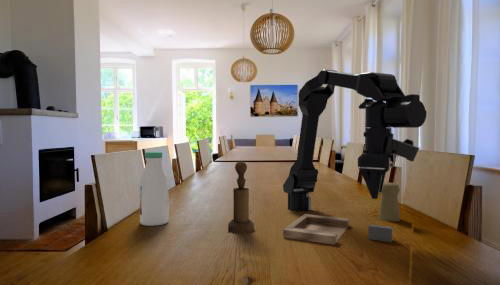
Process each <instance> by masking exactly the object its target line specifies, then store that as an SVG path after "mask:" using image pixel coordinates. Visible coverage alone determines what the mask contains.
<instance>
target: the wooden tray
mask: <svg viewBox="0 0 500 285" xmlns="http://www.w3.org/2000/svg"><path fill="white" fill-rule="evenodd" d="M349 220H350V218H345V217H338V216H337V217H335V216H327V215H321V214H319V215H318V214H309V213H304V214H303V215H302V216H300V217H299V218H296V220H294V221H293V222H291V223H290V224H289V225H287V226H286V227H284V228H283V230H282V233H283V234H282V237H283V238H286V239H291V240H298V241H299V240H300V241H306V242H313V243H318V244H326V245H331V246H332V245H333V246H335V245H336V244H337V243H338V242H339V240H341V238H342V236H343V234H344V233H345V232H346V230H348V227H349V226H350V221H349Z"/></svg>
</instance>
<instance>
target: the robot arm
mask: <svg viewBox="0 0 500 285" xmlns="http://www.w3.org/2000/svg"><path fill="white" fill-rule="evenodd" d="M324 85H326V86H324ZM336 87H338V88H339V87H340V88H345V89H351V90H353V91H355V92H356V93H357V94H359V95H360V96H362V97H365V99H364V100H363V102H362V103H360V104H359V106H358V109H359V110H364V111H365V113H364V114H365V116H364V120H365V121H364V123H365V124H364V126H365V127H364V131H363V137H364V150H362V151H363V152H362V154H361V155H359V157H357V167H358V169H359V171H360V174H361V176H362V177H363V181H364V182H365V185H366V187H367V190H368V192H369V195H370V196H371V199H373V200H377V199H378V198H379V193H381V191H382V187H383V183H385V178H386V174H387V173H388V172H389V171H390V168H391V167H392V166H393V165H394V162H395V155H396V156H399V157H401V158H404V159H406V161H409V162H414V161H415V159H416V157H417V154H418V152H419V150H420V147H418V146H415V145H414V140H411V139H409V138H405V140H403V141H402V140H398V139H395V138H394V137H395V136H394V133H393V132H392V128H395V129H396V128H397V129H398V128H399V129H401V128H405V129H407V128H415V129H416V128H420V127H422V126H423V125H424V123H425V121H426V119H427V110H426V107H425V105H424V103H423V102H422V101H421V100H420V99H421V98H420V97H421V96H420V94H417V93H416V94H414V93H412V94H411V93H410V94H407V95H405V94H404V92H403V90H402V88H401V87H400V85H399V84H398V82H397V77H396V75H394V74H391V73H383V72H374V71H373V72H372V71H369V72H362V73H359V74H358V73H357V74H356V73H351V72H350V73H348V72H344V71H343V72H342V71H338V70H334V69H333V70H332V69H322V70H320V71H319V72H318V74H317V75H315V76H314V77H312V78H311V79H309V80H308V81H306V82H305V83H304V85H303V86H302V87H301V88H300V89H299V91H298V107H299V110H300V112H301V115H302V116H301V123H300V131H299V133H300V134H299V140H298V148H297V156H296V160H295V162H294V163H293V164H292V166H291V167H290V169H289V174H288V177H287V178H286V179H285V182H284V183H283V184H282V190H283V192H284V193H285V194H287V210H290V211H294V212H309V211H311V210H312V200H311V199H312V196H310V193H314V191H315V187H316V184H317V183H318V174H319V170H318V168H316V167H315V164H314V155H315V148H316V140H317V135H318V126H319V120H320V117H321V115H322V113H323V112H324V111H325V110H326V107H327V104H328V100H329V99H331V97H332V96H333V95H334V93H335V88H336Z"/></svg>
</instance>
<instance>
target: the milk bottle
mask: <svg viewBox="0 0 500 285" xmlns="http://www.w3.org/2000/svg"><path fill="white" fill-rule="evenodd" d="M144 157H145V161H146V163H145V166H144V169H143V172H142V174H141V176H140V180H139V223H140V224H141V225H142V226H146V227H152V226H153V227H155V226H160V225H161V226H162V225H165V224H167V223H168V222H169V218H170V217H169V180H168V176H167V174H166V171H165V169H164V167H163V164H162V161H163V151H146V152H145V154H144Z"/></svg>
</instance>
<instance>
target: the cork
mask: <svg viewBox="0 0 500 285" xmlns="http://www.w3.org/2000/svg"><path fill="white" fill-rule="evenodd" d="M380 193H381V194H380V195H381V198H380V199H381V200H380V205H379V213H378V219H379V220H380V221H386V222H400V221H401V215H400V205H399V200H398V199H399V197H398V195H399V193H400V186H399V184H397V183H393V182H384V183H383V187H382V191H381V192H380Z"/></svg>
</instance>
